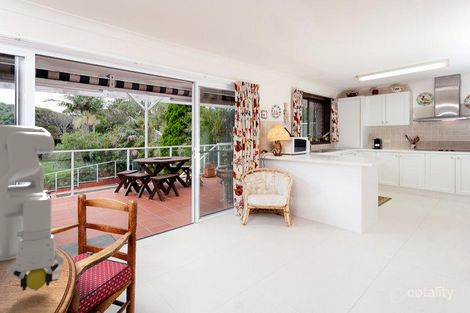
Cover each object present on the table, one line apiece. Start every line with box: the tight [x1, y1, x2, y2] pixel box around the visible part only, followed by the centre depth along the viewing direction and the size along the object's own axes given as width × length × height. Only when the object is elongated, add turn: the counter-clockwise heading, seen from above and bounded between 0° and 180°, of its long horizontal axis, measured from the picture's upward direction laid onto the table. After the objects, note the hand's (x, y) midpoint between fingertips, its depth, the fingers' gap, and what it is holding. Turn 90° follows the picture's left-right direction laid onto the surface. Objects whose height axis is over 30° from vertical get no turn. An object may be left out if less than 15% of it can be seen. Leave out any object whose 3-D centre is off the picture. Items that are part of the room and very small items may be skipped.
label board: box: [44, 262, 64, 282], centre depth 95 cm, size 14×10×1 cm
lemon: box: [26, 268, 47, 291], centre depth 83 cm, size 6×6×8 cm
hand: (36, 285), depth 83 cm, fingers closed on lemon, 5 cm apart
